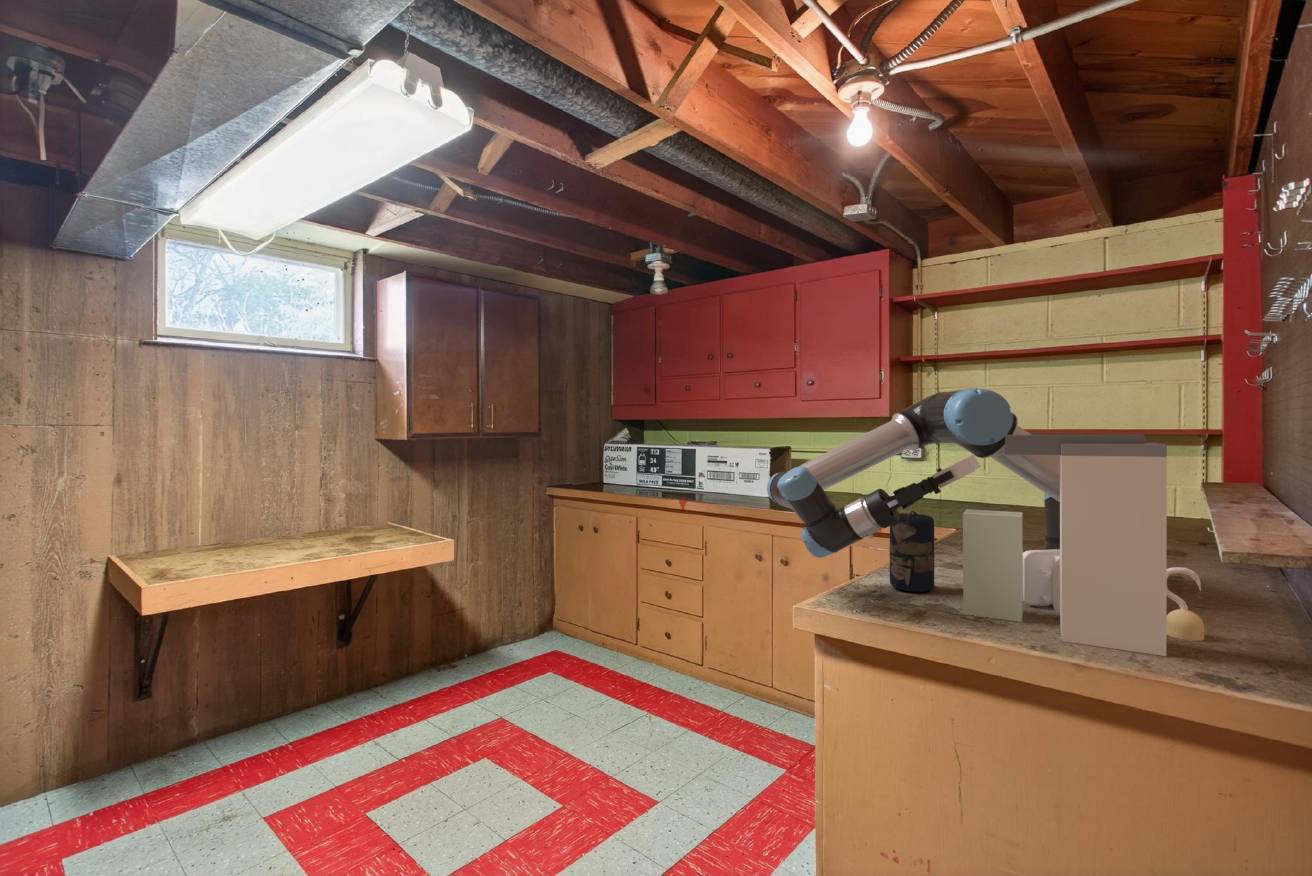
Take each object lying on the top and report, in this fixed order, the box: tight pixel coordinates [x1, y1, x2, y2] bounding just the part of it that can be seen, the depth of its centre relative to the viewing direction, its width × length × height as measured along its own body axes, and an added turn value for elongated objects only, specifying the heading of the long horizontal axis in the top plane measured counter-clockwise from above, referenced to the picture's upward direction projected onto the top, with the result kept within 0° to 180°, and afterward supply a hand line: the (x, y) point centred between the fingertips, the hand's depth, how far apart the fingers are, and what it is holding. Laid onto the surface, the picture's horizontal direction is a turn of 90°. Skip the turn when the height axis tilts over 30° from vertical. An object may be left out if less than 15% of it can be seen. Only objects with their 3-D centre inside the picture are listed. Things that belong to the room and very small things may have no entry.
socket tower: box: [1059, 442, 1168, 657], centre depth 105 cm, size 8×14×34 cm, turn 58°
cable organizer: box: [1023, 549, 1060, 615], centre depth 123 cm, size 15×11×12 cm
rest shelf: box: [962, 508, 1024, 623], centre depth 122 cm, size 7×10×20 cm
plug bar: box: [1005, 434, 1146, 455], centre depth 108 cm, size 4×20×4 cm, turn 58°
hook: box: [1166, 566, 1205, 642], centre depth 108 cm, size 6×5×12 cm
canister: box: [888, 510, 935, 593], centre depth 141 cm, size 10×10×18 cm
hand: (974, 462), depth 116 cm, fingers open, 13 cm apart
